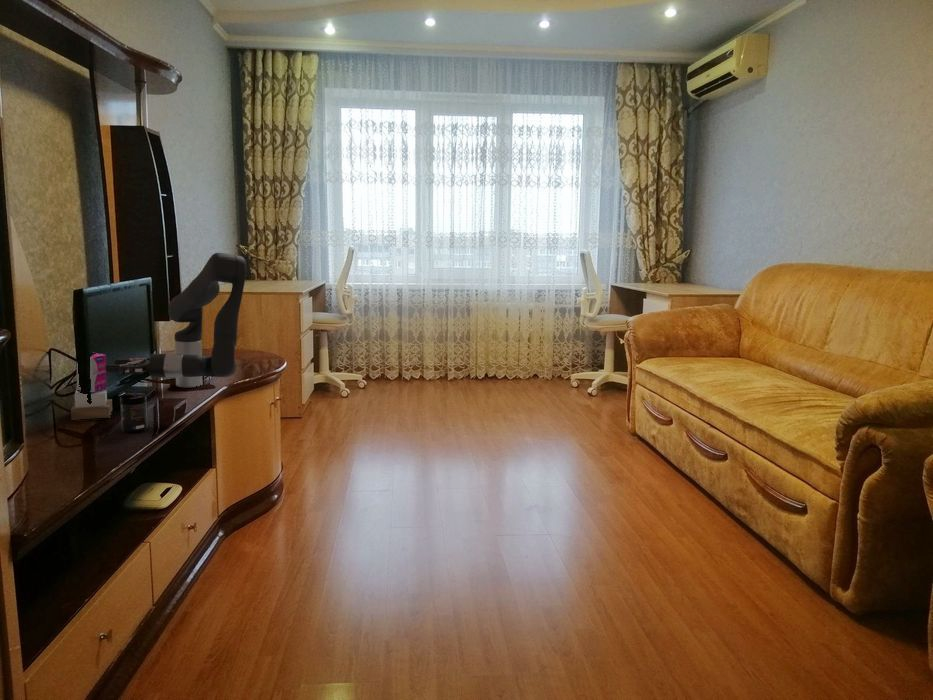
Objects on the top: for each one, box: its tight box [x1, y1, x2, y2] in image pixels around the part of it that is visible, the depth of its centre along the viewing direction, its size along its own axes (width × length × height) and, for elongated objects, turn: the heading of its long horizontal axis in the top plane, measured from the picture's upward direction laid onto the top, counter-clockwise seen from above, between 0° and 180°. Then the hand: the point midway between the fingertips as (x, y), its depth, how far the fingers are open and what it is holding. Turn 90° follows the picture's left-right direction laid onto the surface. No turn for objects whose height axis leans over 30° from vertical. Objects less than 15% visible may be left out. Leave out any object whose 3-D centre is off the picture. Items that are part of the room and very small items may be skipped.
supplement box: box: [76, 352, 107, 394], centre depth 194 cm, size 6×6×12 cm
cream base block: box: [70, 398, 113, 420], centre depth 196 cm, size 10×10×4 cm
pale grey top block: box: [74, 389, 108, 408], centre depth 196 cm, size 8×8×4 cm
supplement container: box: [119, 392, 148, 434], centre depth 182 cm, size 7×7×10 cm
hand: (110, 365), depth 193 cm, fingers open, 8 cm apart
